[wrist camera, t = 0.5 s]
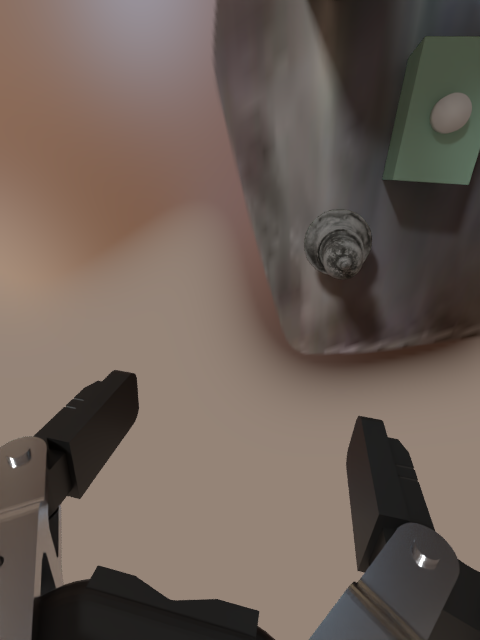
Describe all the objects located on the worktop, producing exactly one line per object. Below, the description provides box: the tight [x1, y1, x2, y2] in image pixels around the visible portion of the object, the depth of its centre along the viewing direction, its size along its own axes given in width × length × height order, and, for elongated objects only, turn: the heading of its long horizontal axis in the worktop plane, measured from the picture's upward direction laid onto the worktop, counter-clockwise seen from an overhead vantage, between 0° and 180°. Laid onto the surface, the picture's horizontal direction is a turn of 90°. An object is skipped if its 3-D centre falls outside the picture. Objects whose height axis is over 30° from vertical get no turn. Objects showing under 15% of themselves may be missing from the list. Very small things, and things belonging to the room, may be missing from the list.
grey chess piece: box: [304, 209, 372, 280], centre depth 28 cm, size 6×6×12 cm
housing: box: [382, 36, 480, 185], centre depth 26 cm, size 9×6×5 cm, turn 176°
